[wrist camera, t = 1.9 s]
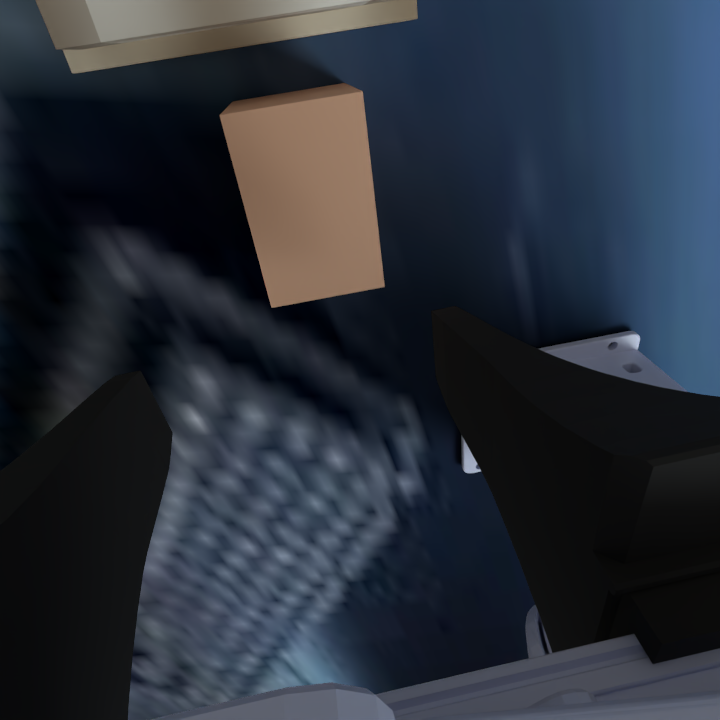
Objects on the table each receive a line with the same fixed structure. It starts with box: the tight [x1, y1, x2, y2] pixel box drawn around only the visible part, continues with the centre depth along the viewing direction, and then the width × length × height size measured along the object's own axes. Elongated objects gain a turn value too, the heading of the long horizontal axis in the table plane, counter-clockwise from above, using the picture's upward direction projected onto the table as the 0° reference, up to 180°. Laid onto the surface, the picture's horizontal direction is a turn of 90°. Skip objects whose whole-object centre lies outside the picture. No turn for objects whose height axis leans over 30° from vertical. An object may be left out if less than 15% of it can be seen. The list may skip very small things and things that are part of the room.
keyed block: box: [220, 83, 385, 308], centre depth 16 cm, size 4×6×4 cm, turn 7°
